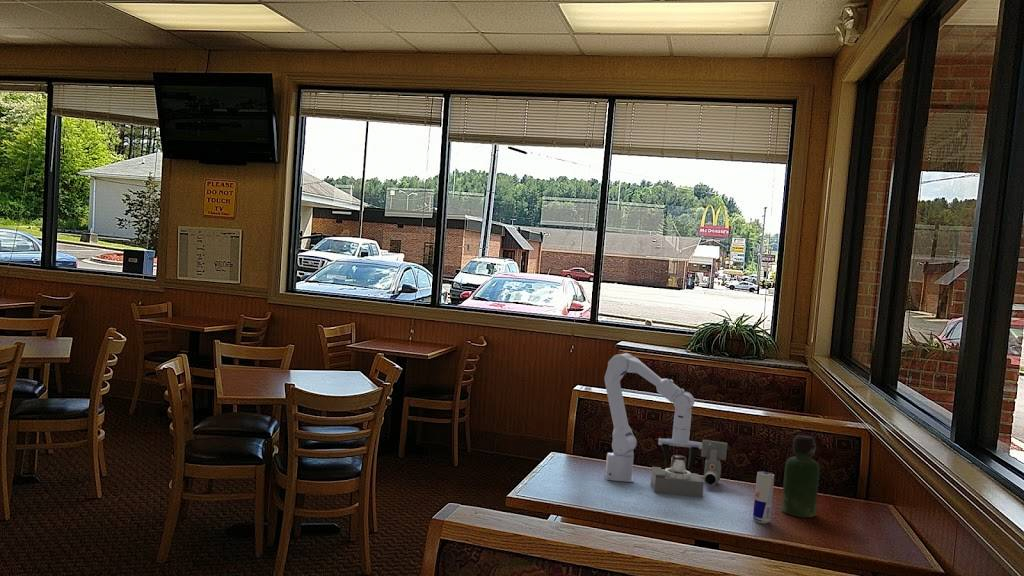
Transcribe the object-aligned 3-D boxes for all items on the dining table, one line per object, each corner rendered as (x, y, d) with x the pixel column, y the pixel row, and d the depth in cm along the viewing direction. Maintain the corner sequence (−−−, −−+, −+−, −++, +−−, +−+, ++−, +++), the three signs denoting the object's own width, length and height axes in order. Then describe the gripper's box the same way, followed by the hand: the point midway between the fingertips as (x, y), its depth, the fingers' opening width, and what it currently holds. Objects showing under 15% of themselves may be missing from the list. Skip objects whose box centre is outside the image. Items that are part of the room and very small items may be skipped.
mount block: (654, 492, 271) (656, 473, 271) (650, 483, 282) (652, 465, 282) (702, 497, 270) (704, 477, 270) (696, 488, 281) (698, 469, 281)
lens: (670, 476, 274) (671, 457, 274) (669, 473, 279) (671, 454, 278) (685, 478, 273) (686, 459, 273) (684, 474, 278) (686, 455, 278)
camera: (696, 486, 283) (700, 444, 283) (699, 479, 294) (702, 438, 294) (722, 490, 281) (726, 448, 280) (723, 482, 292) (727, 441, 292)
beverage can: (757, 517, 252) (762, 470, 251) (772, 522, 248) (777, 474, 248) (749, 520, 248) (754, 472, 248) (764, 525, 245) (769, 476, 244)
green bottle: (780, 514, 257) (787, 436, 257) (781, 506, 267) (788, 431, 266) (815, 520, 254) (822, 441, 253) (815, 512, 264) (822, 436, 263)
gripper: (661, 428, 272) (658, 468, 272) (705, 432, 271) (701, 472, 272) (659, 424, 279) (655, 463, 280) (701, 428, 278) (697, 467, 279)
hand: (677, 467), depth 276 cm, fingers open, 7 cm apart
